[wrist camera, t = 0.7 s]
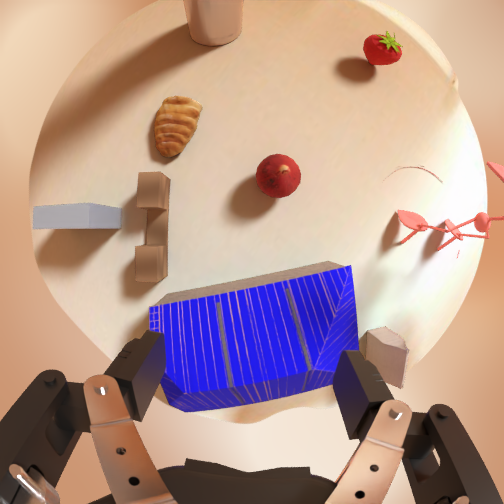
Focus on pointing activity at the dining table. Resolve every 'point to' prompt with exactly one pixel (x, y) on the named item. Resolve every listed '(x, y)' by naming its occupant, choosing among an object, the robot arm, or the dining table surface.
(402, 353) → the grey house-shaped block
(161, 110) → the pastry
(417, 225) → the figurine
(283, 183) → the onion
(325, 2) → the dining table surface
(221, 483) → the robot arm
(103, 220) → the grey notched square slab
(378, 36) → the strawberry
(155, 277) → the walnut blocks
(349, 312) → the house
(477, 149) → the dining table surface
